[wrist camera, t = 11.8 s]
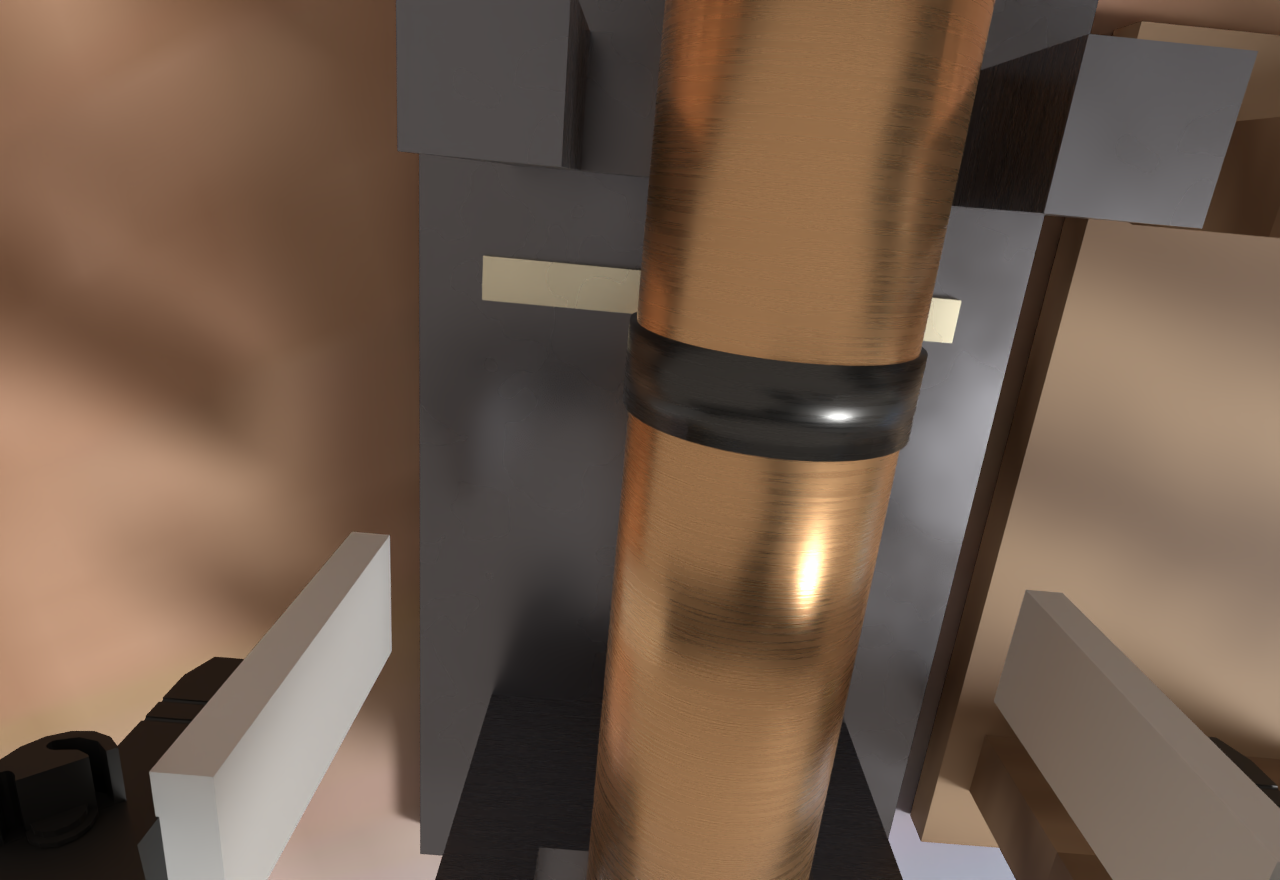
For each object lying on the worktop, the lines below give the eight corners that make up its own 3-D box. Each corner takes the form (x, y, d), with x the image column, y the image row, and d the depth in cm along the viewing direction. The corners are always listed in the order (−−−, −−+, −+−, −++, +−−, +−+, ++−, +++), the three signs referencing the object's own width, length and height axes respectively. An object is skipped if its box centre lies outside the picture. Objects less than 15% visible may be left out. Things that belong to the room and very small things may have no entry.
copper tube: (671, -199, 11) (698, -423, 7) (964, -164, 11) (1159, -361, 7) (567, 1011, 18) (551, 1241, 14) (740, 1019, 19) (772, 1247, 15)
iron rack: (432, -150, 16) (182, -533, 7) (1094, -80, 16) (1592, -371, 8) (429, 827, 24) (310, 1178, 16) (866, 861, 24) (983, 1225, 16)
